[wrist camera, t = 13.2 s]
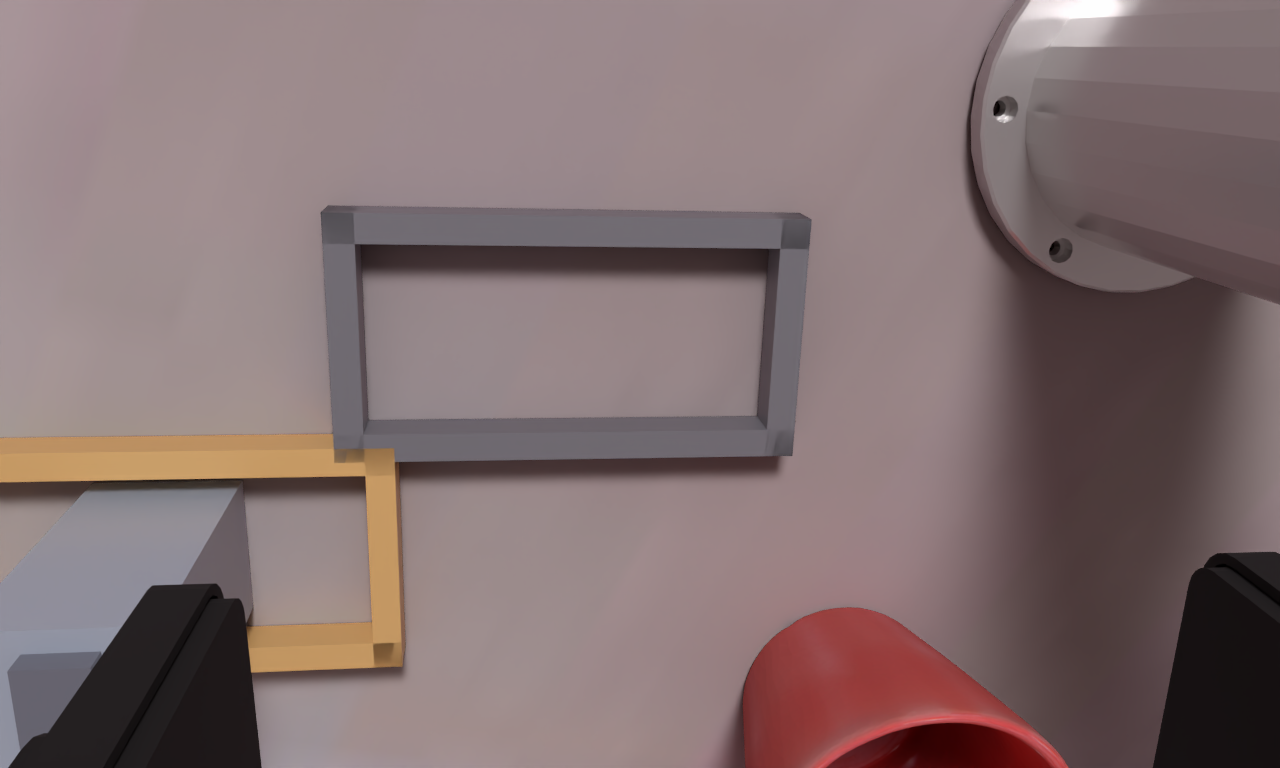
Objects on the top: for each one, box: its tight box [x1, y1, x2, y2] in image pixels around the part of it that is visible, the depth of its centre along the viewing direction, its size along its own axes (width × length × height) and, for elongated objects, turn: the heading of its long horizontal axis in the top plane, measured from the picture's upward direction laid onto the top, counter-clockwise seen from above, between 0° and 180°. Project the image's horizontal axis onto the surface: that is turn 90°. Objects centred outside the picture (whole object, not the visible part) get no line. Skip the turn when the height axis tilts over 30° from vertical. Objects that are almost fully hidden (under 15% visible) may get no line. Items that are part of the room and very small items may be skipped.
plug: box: [0, 480, 253, 768], centre depth 33 cm, size 5×5×11 cm
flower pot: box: [743, 607, 1069, 768], centre depth 39 cm, size 11×11×10 cm
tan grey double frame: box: [0, 206, 811, 673], centre depth 37 cm, size 30×16×2 cm, turn 88°
